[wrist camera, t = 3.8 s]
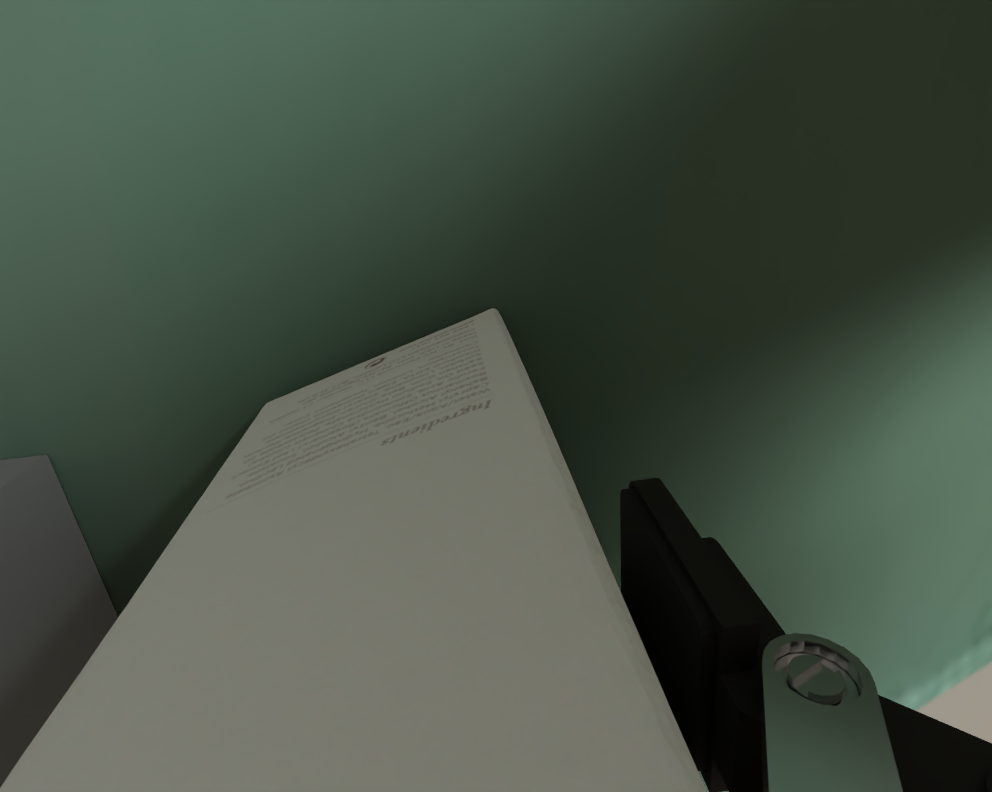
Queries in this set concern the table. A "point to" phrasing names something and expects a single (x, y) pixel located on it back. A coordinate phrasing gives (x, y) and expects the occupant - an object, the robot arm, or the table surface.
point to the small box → (377, 609)
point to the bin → (42, 602)
